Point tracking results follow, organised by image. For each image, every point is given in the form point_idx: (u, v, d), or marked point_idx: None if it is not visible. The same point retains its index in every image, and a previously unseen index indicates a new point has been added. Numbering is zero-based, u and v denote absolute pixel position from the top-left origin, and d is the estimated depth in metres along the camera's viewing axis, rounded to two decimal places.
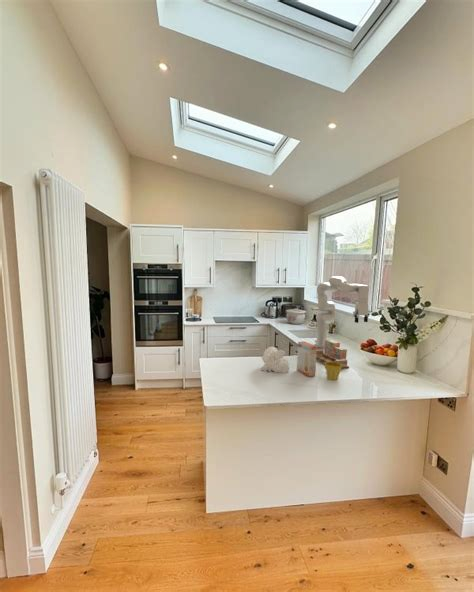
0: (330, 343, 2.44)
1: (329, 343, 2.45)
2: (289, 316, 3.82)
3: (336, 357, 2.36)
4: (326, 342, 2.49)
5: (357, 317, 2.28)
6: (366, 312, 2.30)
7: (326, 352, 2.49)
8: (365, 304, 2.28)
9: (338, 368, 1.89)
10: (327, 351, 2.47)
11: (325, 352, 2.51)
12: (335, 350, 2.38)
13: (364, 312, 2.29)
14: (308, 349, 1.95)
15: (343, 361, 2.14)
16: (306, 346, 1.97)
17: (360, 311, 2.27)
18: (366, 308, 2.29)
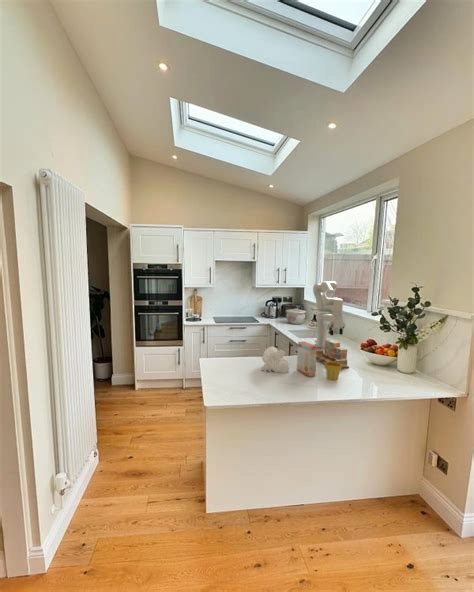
0: (330, 343, 2.43)
1: (329, 343, 2.45)
2: (289, 316, 3.82)
3: (336, 357, 2.36)
4: (326, 342, 2.49)
5: (332, 330, 2.38)
6: (341, 325, 2.40)
7: (326, 352, 2.49)
8: (340, 317, 2.38)
9: (338, 368, 1.89)
10: (327, 351, 2.47)
11: (325, 352, 2.50)
12: (335, 350, 2.37)
13: (339, 325, 2.39)
14: (308, 349, 1.95)
15: (343, 361, 2.14)
16: (306, 346, 1.97)
17: (335, 324, 2.37)
18: (341, 321, 2.39)
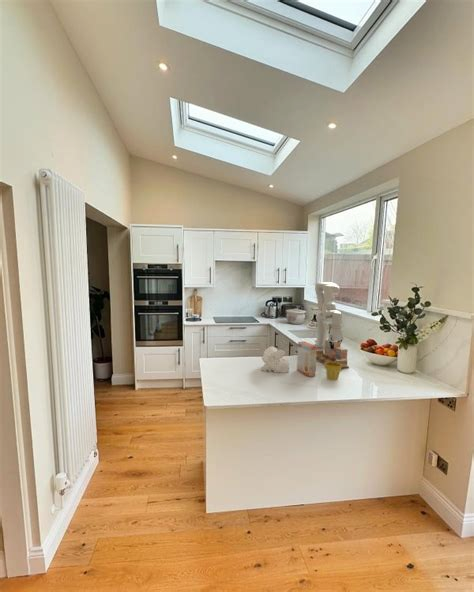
0: None
1: (329, 343, 2.45)
2: (289, 316, 3.82)
3: (337, 357, 2.36)
4: (326, 342, 2.48)
5: (332, 344, 2.40)
6: (340, 338, 2.41)
7: (326, 352, 2.48)
8: (339, 330, 2.39)
9: (338, 368, 1.89)
10: (328, 351, 2.47)
11: (325, 352, 2.50)
12: (336, 350, 2.37)
13: (338, 338, 2.40)
14: (308, 349, 1.95)
15: (343, 361, 2.14)
16: (306, 346, 1.97)
17: (334, 337, 2.38)
18: (340, 334, 2.40)
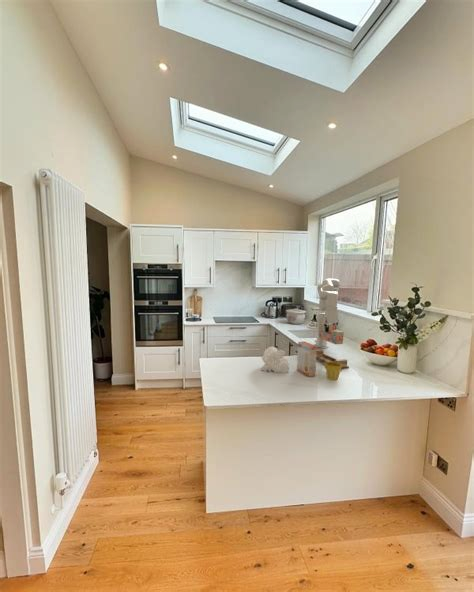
0: None
1: (324, 326, 2.27)
2: (289, 316, 3.82)
3: (332, 341, 2.18)
4: (321, 325, 2.31)
5: (327, 326, 2.22)
6: (335, 320, 2.23)
7: (321, 336, 2.31)
8: (334, 312, 2.21)
9: (338, 368, 1.89)
10: (322, 335, 2.29)
11: (320, 336, 2.32)
12: (331, 333, 2.19)
13: (333, 320, 2.22)
14: (308, 349, 1.95)
15: (343, 361, 2.14)
16: (306, 346, 1.97)
17: (329, 319, 2.21)
18: (335, 316, 2.23)
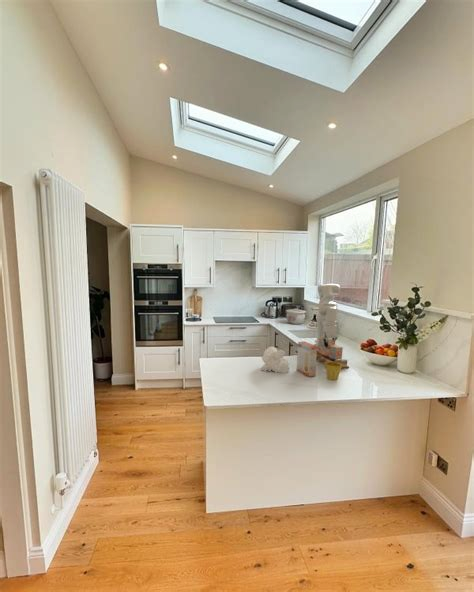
0: None
1: (323, 341, 2.27)
2: (289, 316, 3.82)
3: (331, 356, 2.19)
4: (320, 340, 2.31)
5: (326, 341, 2.23)
6: (334, 335, 2.24)
7: (320, 350, 2.31)
8: (333, 327, 2.22)
9: (338, 368, 1.89)
10: (322, 349, 2.29)
11: (319, 350, 2.33)
12: (330, 348, 2.20)
13: (332, 335, 2.23)
14: (308, 349, 1.95)
15: (343, 361, 2.14)
16: (306, 346, 1.97)
17: (328, 334, 2.21)
18: (334, 331, 2.23)
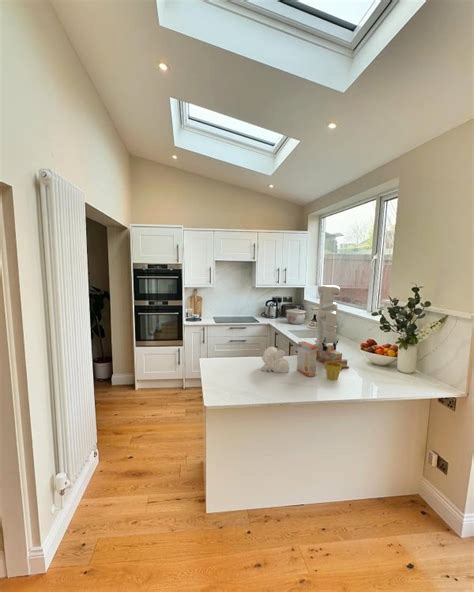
0: None
1: None
2: (289, 316, 3.82)
3: None
4: (320, 345, 2.32)
5: (325, 345, 2.23)
6: (334, 340, 2.24)
7: (320, 356, 2.32)
8: (333, 332, 2.23)
9: (338, 368, 1.89)
10: (321, 355, 2.30)
11: (318, 356, 2.33)
12: (329, 354, 2.21)
13: (332, 340, 2.23)
14: (308, 349, 1.95)
15: (343, 361, 2.14)
16: (306, 346, 1.97)
17: (328, 339, 2.22)
18: (334, 336, 2.24)
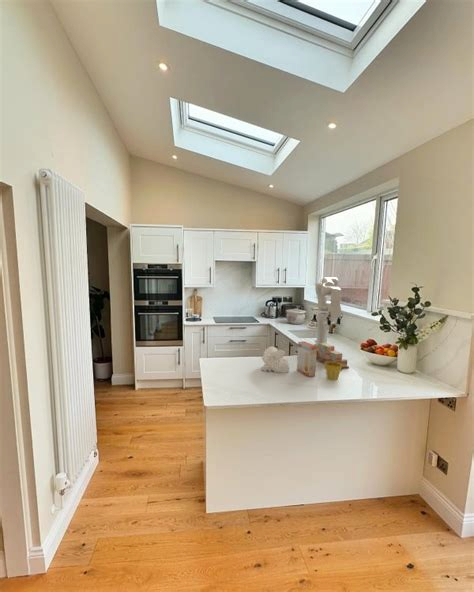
0: (324, 347, 2.27)
1: (323, 347, 2.28)
2: (289, 316, 3.82)
3: None
4: (320, 345, 2.32)
5: (329, 320, 2.32)
6: (338, 315, 2.34)
7: (320, 356, 2.32)
8: (337, 307, 2.32)
9: (338, 368, 1.89)
10: (321, 355, 2.30)
11: (319, 356, 2.33)
12: (330, 354, 2.21)
13: (336, 315, 2.33)
14: (308, 349, 1.95)
15: (343, 361, 2.14)
16: (306, 346, 1.97)
17: (332, 314, 2.31)
18: (338, 311, 2.33)
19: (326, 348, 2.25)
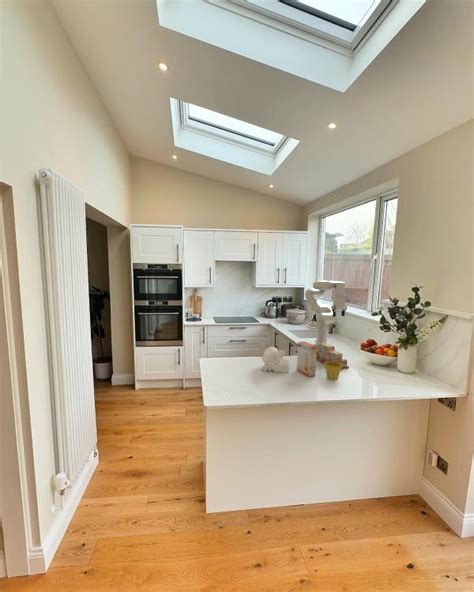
0: (324, 347, 2.27)
1: (323, 347, 2.28)
2: (289, 316, 3.82)
3: None
4: (320, 345, 2.32)
5: (334, 311, 2.48)
6: (343, 307, 2.50)
7: (320, 356, 2.32)
8: (342, 299, 2.48)
9: (338, 368, 1.89)
10: (321, 355, 2.30)
11: (319, 356, 2.33)
12: (330, 354, 2.20)
13: (341, 307, 2.49)
14: (308, 349, 1.95)
15: (343, 361, 2.14)
16: (306, 346, 1.97)
17: (337, 306, 2.47)
18: (343, 303, 2.49)
19: (326, 348, 2.24)
